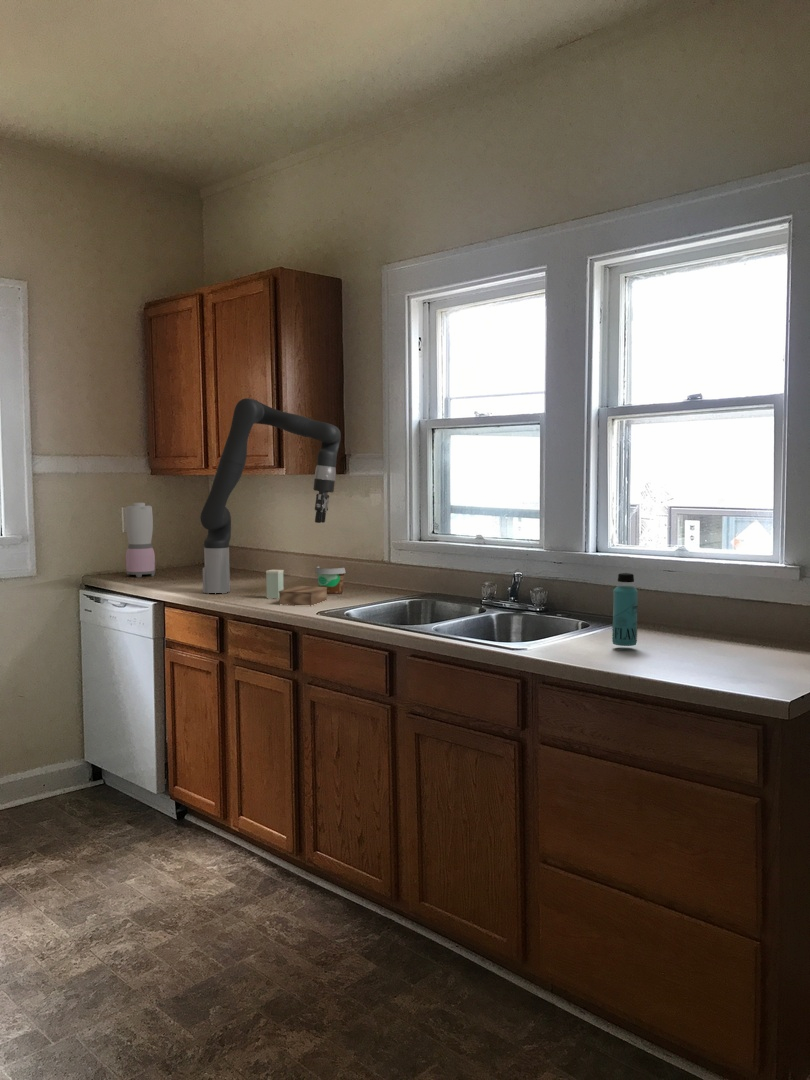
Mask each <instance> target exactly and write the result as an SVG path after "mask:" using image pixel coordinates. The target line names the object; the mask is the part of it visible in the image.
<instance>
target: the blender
mask: <svg viewBox="0 0 810 1080" xmlns="http://www.w3.org/2000/svg"><path fill="white" fill-rule="evenodd" d="M153 516H154V515H153V507H152V505H146V503H145V502H133V503H132V505H127V506H125V531H126V537H127V540H128V541H127V542H128V547H127V549H126V551H125V562H126V563H125V565H126V575H127V576H132V575H133V576H134V575H135V576H136V578H142V575H150V577H154V576H155V573H156V560H155V559H156V558H155V557H156V556H155V550H154V548H153V546H152V545H153V544H152V539H153V532H154V531H153V530H154V521H153V520H154V519H153V518H154V517H153Z"/></svg>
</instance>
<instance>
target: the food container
mask: <svg viewBox="0 0 810 1080" xmlns="http://www.w3.org/2000/svg"><path fill="white" fill-rule="evenodd" d="M315 573H316V575H317V584H318V585H317V587H327V594H339V595H343V594H342V593H343V592H344V591H343V590H344V579H345V574H346V573H347V572H346V569H345V567H338V568H335V567H333V568H331V567H329V568H322V567H320V566H316V568H315Z"/></svg>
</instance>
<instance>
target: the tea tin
mask: <svg viewBox="0 0 810 1080" xmlns="http://www.w3.org/2000/svg"><path fill="white" fill-rule="evenodd" d="M284 571H285V570H284V569H269V570H268V569H267V570H266V571H265V574H266V575H265V576H266V578H265V579H266V580H265V581H266V599H267V598H279V591H281V590H284V589H285V588H284Z"/></svg>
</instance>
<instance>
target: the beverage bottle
mask: <svg viewBox="0 0 810 1080" xmlns="http://www.w3.org/2000/svg"><path fill="white" fill-rule="evenodd" d="M634 576H635V575H634V574H633V573H629V572H622V573H618V574H617V582H619V583H634V582H635V577H634ZM638 594H639V591H638V590H637V588H636V587H635V586H633V585H617V586H616V587H615V588H614V589H613V605H612V607H613V608H612V609H613V611H612V628H611V629H612V634H611V635H612V636H611V641H612V644H613V645H615V646H621V647H632V646H636V645H637V642H638V631H639V630H638V613H639V612H638V608H639V603H638Z"/></svg>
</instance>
